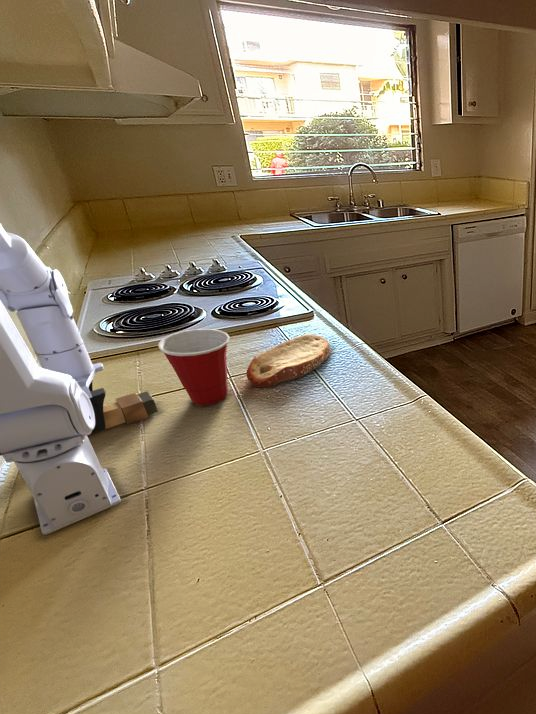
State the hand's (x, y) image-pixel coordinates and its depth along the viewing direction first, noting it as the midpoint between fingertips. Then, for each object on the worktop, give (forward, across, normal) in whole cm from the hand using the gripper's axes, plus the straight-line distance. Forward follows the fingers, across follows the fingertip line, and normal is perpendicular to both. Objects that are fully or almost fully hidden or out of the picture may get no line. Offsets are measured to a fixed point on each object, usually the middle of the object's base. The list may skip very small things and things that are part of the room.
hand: (92, 421), depth 76 cm
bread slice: (+2, 0, -34) cm, 34 cm away
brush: (+1, 0, -2) cm, 3 cm away
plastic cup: (+2, -3, -17) cm, 17 cm away
